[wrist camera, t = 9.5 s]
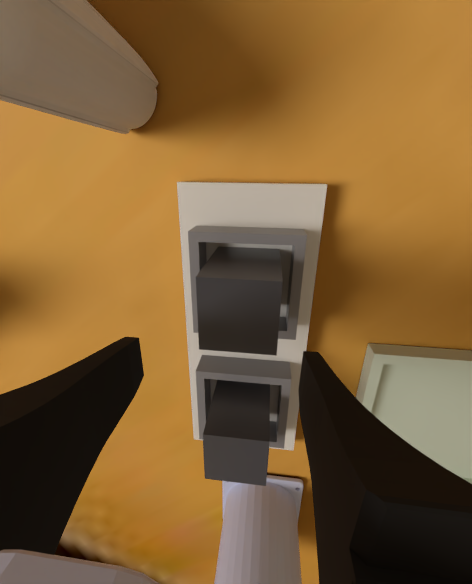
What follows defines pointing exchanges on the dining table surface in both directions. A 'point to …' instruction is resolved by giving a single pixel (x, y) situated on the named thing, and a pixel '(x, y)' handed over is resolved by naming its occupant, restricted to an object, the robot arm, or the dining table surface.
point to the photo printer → (72, 65)
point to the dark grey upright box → (240, 300)
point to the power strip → (292, 325)
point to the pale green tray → (423, 399)
